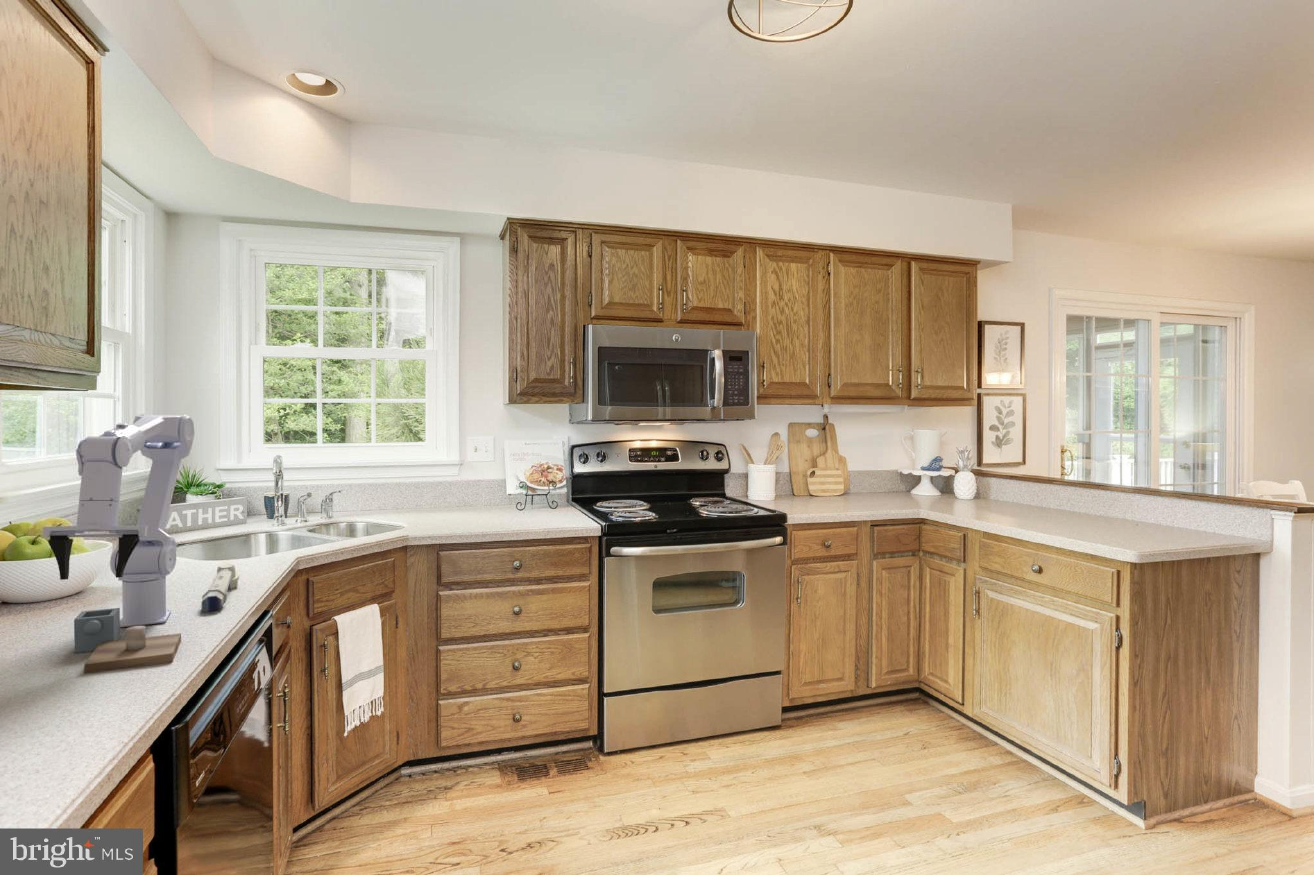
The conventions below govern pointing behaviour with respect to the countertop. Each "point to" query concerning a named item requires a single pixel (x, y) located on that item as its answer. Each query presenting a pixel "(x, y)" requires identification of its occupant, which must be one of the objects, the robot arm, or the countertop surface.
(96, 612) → the duct sleeve
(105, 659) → the base
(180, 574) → the countertop surface
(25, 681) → the countertop surface
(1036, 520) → the countertop surface
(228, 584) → the beige flashlight
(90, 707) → the countertop surface
